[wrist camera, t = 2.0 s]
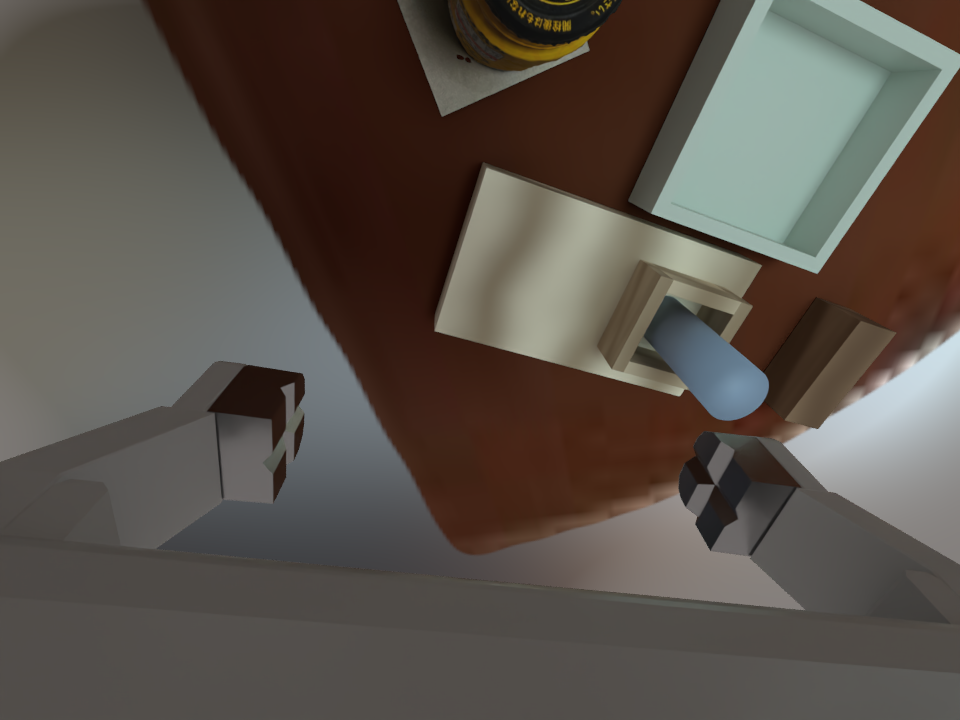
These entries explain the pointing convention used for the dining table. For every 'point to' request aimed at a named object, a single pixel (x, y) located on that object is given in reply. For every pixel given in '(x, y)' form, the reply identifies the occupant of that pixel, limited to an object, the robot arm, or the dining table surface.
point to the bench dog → (822, 362)
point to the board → (581, 280)
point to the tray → (790, 123)
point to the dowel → (706, 362)
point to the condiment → (496, 41)
